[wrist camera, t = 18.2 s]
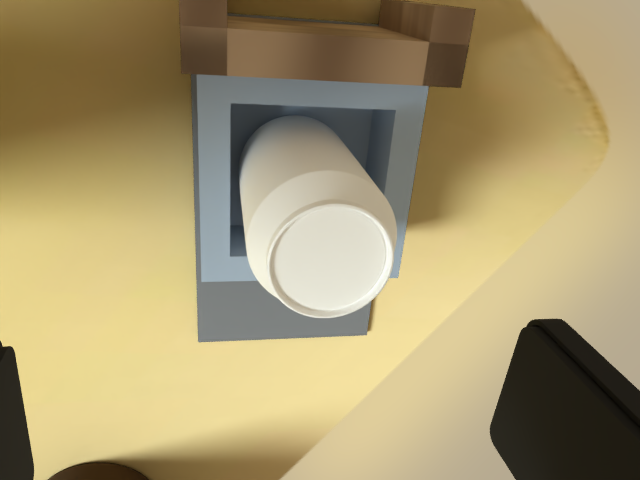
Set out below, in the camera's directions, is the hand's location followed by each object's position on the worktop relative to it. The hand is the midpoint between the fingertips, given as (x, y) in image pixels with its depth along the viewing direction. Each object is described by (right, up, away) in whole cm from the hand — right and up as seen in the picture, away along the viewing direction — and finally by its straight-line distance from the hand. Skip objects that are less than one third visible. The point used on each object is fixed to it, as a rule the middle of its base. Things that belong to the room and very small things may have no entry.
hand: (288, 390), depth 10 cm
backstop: (0, +14, +20) cm, 24 cm away
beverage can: (-1, +7, +21) cm, 22 cm away
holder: (-1, +8, +22) cm, 23 cm away
